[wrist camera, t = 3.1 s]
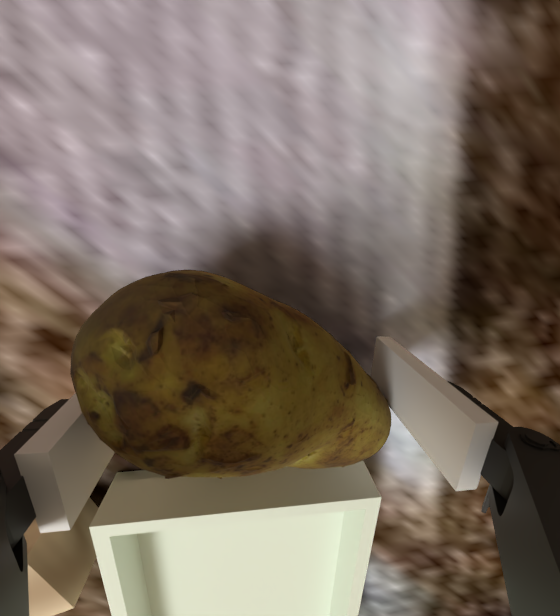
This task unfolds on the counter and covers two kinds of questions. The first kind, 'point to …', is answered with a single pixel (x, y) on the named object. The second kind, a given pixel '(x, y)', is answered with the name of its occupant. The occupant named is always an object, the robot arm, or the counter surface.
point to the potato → (221, 382)
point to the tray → (237, 542)
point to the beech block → (59, 564)
